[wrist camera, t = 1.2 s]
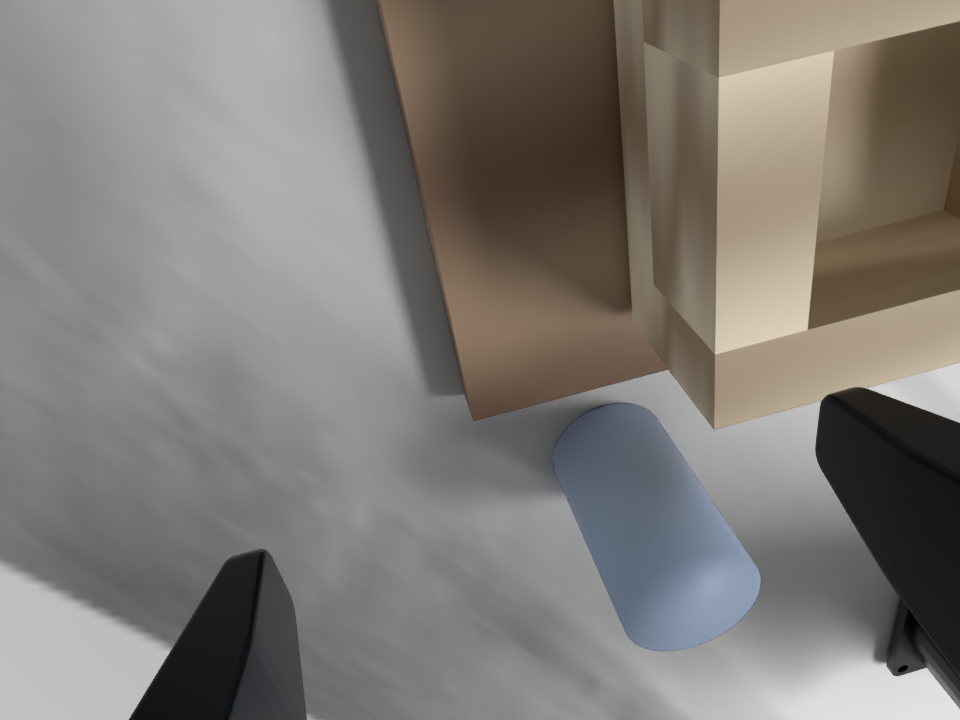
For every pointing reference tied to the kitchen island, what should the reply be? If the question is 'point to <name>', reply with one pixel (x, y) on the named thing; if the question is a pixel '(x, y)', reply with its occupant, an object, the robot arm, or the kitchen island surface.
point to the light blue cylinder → (653, 530)
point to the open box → (791, 194)
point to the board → (521, 191)
